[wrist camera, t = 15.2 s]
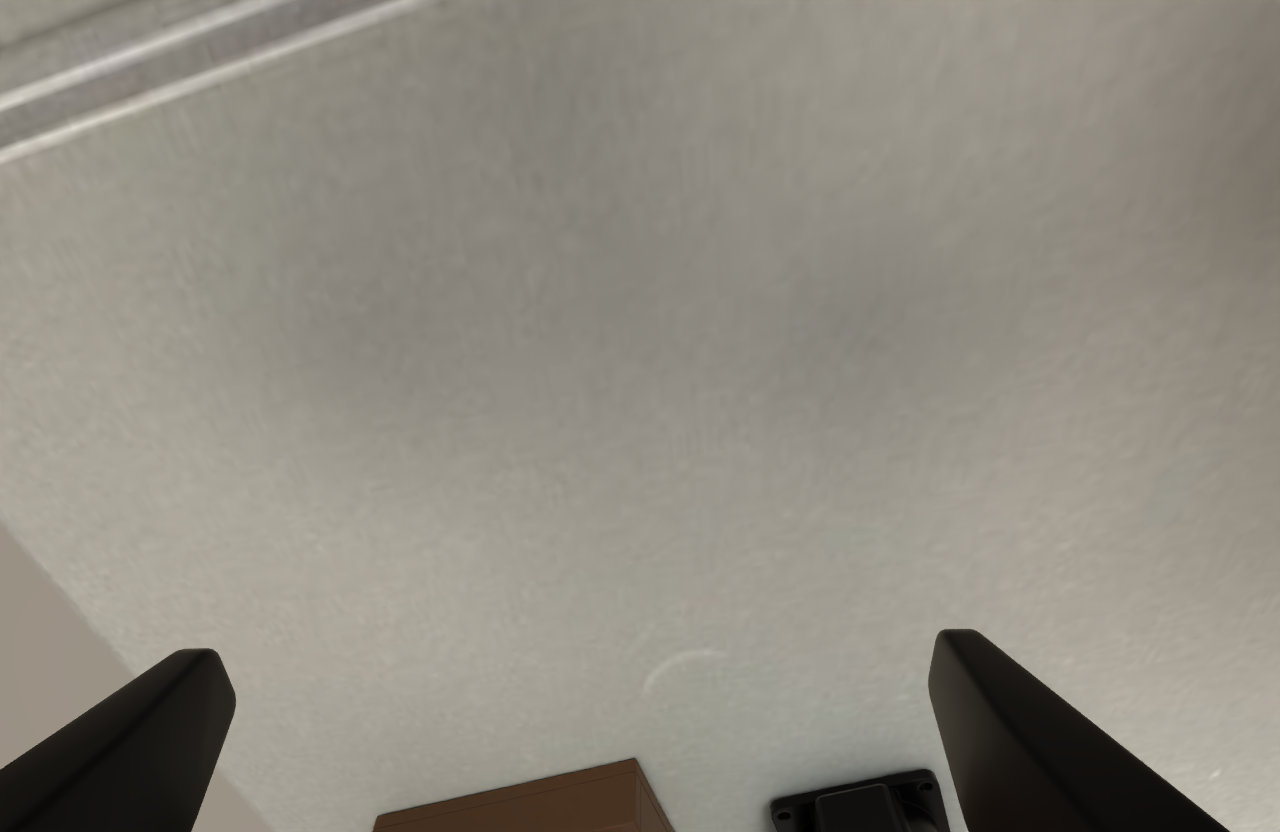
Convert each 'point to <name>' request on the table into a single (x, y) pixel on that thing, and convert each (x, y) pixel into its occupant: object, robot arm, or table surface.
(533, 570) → the table surface
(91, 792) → the robot arm
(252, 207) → the table surface
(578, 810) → the tray
